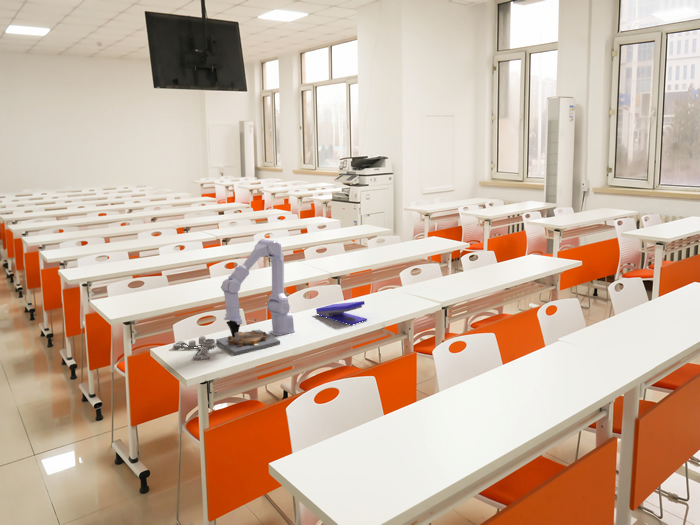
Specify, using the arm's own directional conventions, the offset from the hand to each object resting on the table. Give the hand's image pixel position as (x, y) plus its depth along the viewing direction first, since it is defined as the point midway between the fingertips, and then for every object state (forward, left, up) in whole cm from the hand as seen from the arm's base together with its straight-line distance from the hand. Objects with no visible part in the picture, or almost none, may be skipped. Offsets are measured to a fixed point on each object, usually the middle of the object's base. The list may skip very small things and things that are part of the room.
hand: (235, 336), depth 243 cm
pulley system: (+14, -7, -5) cm, 16 cm away
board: (-6, -1, -4) cm, 7 cm away
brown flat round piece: (-6, 0, -3) cm, 6 cm away
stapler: (-58, -6, -5) cm, 58 cm away
